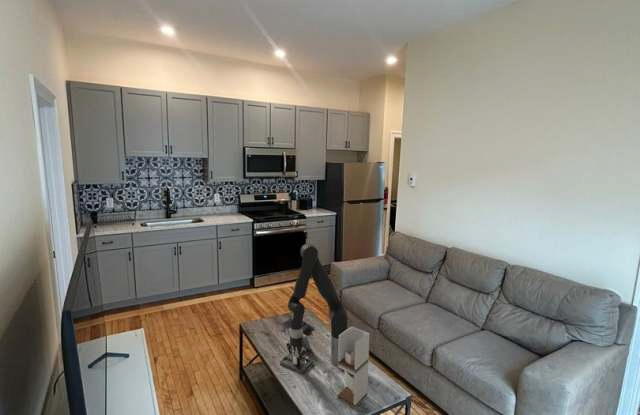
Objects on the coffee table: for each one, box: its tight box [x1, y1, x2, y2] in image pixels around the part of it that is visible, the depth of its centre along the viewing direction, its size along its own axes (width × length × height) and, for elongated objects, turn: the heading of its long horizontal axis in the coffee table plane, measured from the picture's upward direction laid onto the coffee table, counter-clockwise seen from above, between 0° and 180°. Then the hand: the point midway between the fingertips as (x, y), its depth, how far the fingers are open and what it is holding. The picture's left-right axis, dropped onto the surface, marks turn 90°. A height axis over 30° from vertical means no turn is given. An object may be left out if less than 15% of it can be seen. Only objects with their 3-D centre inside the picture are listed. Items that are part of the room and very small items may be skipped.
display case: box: [336, 325, 370, 410], centre depth 169 cm, size 11×11×35 cm
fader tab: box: [293, 353, 298, 365], centre depth 195 cm, size 2×4×5 cm, turn 148°
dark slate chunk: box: [282, 317, 315, 335], centre depth 238 cm, size 15×22×5 cm
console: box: [279, 353, 315, 375], centre depth 198 cm, size 16×12×4 cm
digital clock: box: [287, 328, 311, 352], centre depth 214 cm, size 16×9×11 cm, turn 38°
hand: (296, 361), depth 195 cm, fingers closed on fader tab, 2 cm apart
